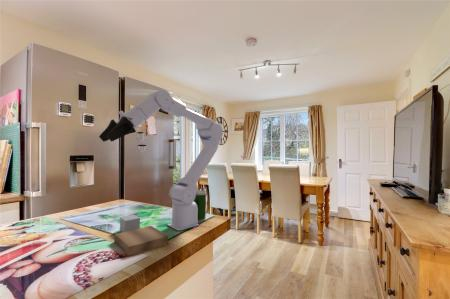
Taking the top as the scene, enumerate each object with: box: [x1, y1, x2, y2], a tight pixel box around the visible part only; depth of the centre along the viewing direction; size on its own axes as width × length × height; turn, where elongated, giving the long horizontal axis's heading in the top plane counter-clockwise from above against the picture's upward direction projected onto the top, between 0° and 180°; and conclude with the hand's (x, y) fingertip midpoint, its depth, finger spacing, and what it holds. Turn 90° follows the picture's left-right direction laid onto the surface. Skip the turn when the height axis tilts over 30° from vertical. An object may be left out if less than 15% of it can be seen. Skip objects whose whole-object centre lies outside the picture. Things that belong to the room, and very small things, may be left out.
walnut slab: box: [113, 225, 169, 257], centre depth 70 cm, size 12×12×3 cm
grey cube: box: [119, 214, 141, 233], centre depth 79 cm, size 5×5×5 cm
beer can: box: [194, 189, 207, 222], centre depth 94 cm, size 5×5×12 cm
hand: (105, 138), depth 67 cm, fingers open, 7 cm apart
